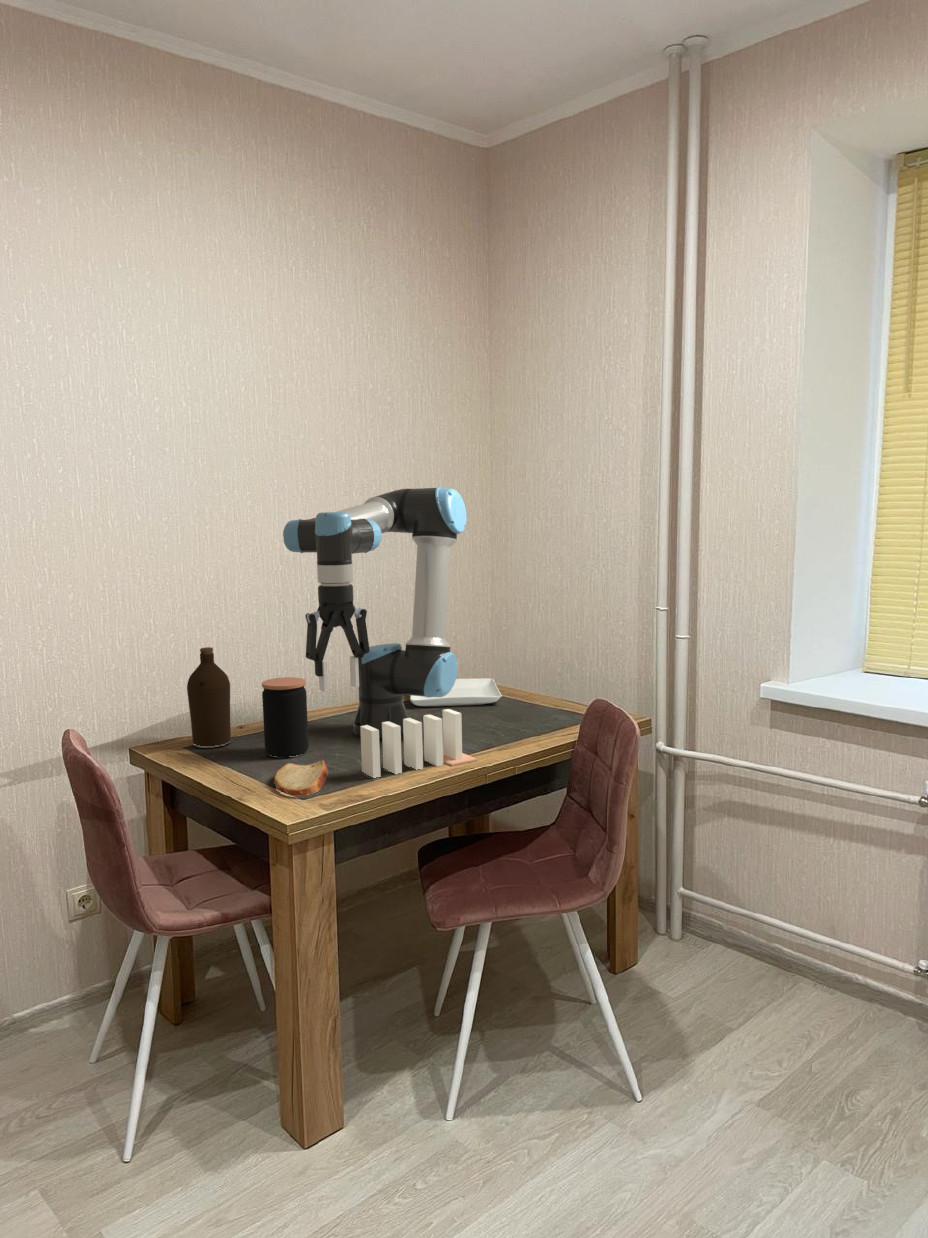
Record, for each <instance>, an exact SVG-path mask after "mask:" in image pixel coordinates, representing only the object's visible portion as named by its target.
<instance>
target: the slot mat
mask: <svg viewBox="0 0 928 1238" xmlns="http://www.w3.org/2000/svg"><path fill="white" fill-rule="evenodd" d="M469 762H470V763H474V762H478V759H477V758H476V757H473V756H471V755H468V754H466V753H463V752H462V759H458V760H455V759H452V758H450V757H448V756H445V755H443V764H446V765H447V766H451V767H455V766H459V765H460V766H461V765H465V764H470V763H469Z"/></svg>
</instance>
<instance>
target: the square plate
mask: <svg viewBox="0 0 928 1238" xmlns="http://www.w3.org/2000/svg"><path fill="white" fill-rule="evenodd" d="M409 696H410V697H409V700H410V702H411V703H412V704H413V705H415V706H417V707H430V708H432V707H433V708H434V707H453V706H454V707H455V706H456V707H459V706H480V705H485V704H493V703H495V702H498V701H499V699H500V698H502V697H503V695H502V693H501V692H500V689H499V687H498V686H497V684H496V681H495V680H494V678H490V677H488V678H485V677H483V678H456V681H455V683H454V686H453V687H452V689H451V691H450V692H449V693H448V694H447V695H445V696H443V697H429V698H428V697H424V696H412V695H409Z"/></svg>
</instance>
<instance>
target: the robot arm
mask: <svg viewBox="0 0 928 1238" xmlns="http://www.w3.org/2000/svg"><path fill="white" fill-rule="evenodd" d="M467 518H468V517H467V509H466V506H465V502H464V500H463V498H462V496H461V494H460V493H459V491H457V490H456V489H454V488H448V487H447V488H446V487H439V486H438V487H430V488H429V487H427V488H426V487H425V488H402V489H396V490H392V491H389V492H385V493H382V494H379V495H376V496H372V497H369V498H368V499H366V500H365V502H364V503H362V504H359V505H355V506H352V507H348V508H344V509H342V510H338V511H328V512H327V511H326V512H325V511H323V512H318V513H317V514H316V516H315V517H311V518H310V519H308V518H307V519H301V518H298V519H291V520H289V521H287V522H286V523H285V525H284V528H283V533H282V536H283V544H284V545H285V546H284V547H286V549H287V550H288V551H289V552H292V553H300V554H304V553H316V571H317V576H316V577H317V583H319V585H318V587H317V595H318V596H317V598H318V599H317V600H318V608H317V610H316V611H314V612H311V613H309V612H307V613H306V614H305V617H304V618H305V621H306V623H307V624H306V625H307V626H306V627H307V628H306V642H305V645H306V646H305V658H306V659H307V660H311V661H313V663H314V674H315V676H316V677H318V683H319V684H318V685H319V688H318V689H319V691H321V692H325V693H327V692H328V691H329V688H328V687H329V686H328V663H327V661H326V660H324V658H325V654H326V651H327V648H328V644H329V641H330V637H331V634H332V632H333V631H334V628H337V627H341V629H342V630H343V632H344V635H345V637H346V638H345V639H347V642H348V645H349V648H350V650H351V654H352V656H349V676H350V677H349V678H350V679H349V680H350V686H351V687H354V688H358V705H357V710H356V713H355V717H354V721H353V726H352V727H353V728H352V729H353V734H354V735H356V736H359V737H361V730H360V726H364V725H369V726H371V727H373V728H376V729H378V730H379V739H382V722H388V721H389V722H392V723H394V724H396V725H399V726H401V736H402V735H403V736H404V734H403V719H406V718H409V715H408V712H407V709H406V706H405V705H404V696H410V695H412V696H424V697H428V698H429V697H443V696H445V695H447V694H448V693H449V692H450V691H451V689H452V687H453V686H454V683H455V681H456V679H457V677H458V673H459V672H458V670H459V662H458V658H457V656H456V655H455V654H454V653H452V652H451V644H450V643H449V642H448V641H447V639H446V627H447V611H448V609H447V608H448V597H449V595H448V594H449V578H450V577H449V576H450V562H451V561H450V557H451V547H452V546H453V545H454V544H456V543H457V540H458V539H457V538H458V535H459V534H462V533H463V532H464V531H465V529H466V526H467ZM384 533H403V534H404V533H405V534H411V535H412V536H411V540H413V542H414V543H415V544H416V546H417V547H416V566H415V579H414V580H415V581H414V582H415V583H414V598H413V614H412V616H413V617H412V628H411V629H412V635H411V637H410V638H409V640H407V642H406V643H405V650H404V649H403V647H402V645H401V644H400V643H398V642H394V643H384V644H376V645H371V646H370V643H369V637H368V636H369V635H368V629H367V628H368V627H367V623H366V622H367V621H366V619H367V613H368V611H367V609H366V608H360V607H359V608H357V607H355V604H354V586H353V584H351V583H352V582H353V579H354V577H353V575H354V574H353V560H352V559H353V554H362V553H364V554H368V553H369V552H373V551H374V550H376V549H377V548H378V547H379V546H380V544H381V542H382V537H383V536H382V535H383V534H384ZM353 616H354V618H355V622H356V624H355V625H356V632H357V635H356V633H355V630H354V625H353V622H352V620H351V619H352V618H353ZM319 618H320V620H321V621H322V623H321V626H320V635H319V637H318V635H317V634H318V622H319ZM317 637H318V638H317ZM317 639H318V641H317Z"/></svg>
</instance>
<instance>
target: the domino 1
mask: <svg viewBox="0 0 928 1238" xmlns="http://www.w3.org/2000/svg"><path fill="white" fill-rule="evenodd" d="M360 730H361V736H360V748H361V749H360V750H361V752H360V753H361V773H362V772H364V773H366V774H367V775H369V776H371V777H373V778H376V777H381V750H380V746H381V745H380V738H379V730H378V729H376V728H373V727H371V726H369V725H364V726H360ZM367 775H366V776H367ZM381 778H382V777H381Z"/></svg>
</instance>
